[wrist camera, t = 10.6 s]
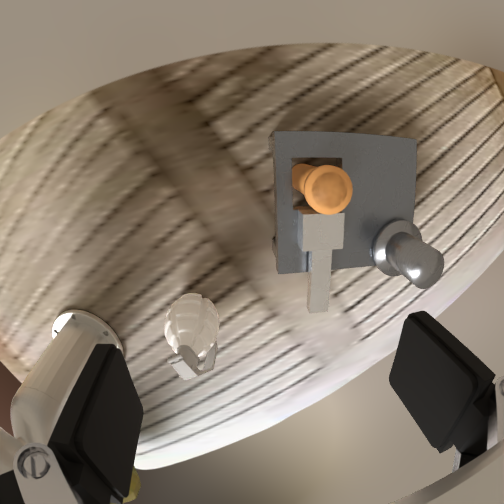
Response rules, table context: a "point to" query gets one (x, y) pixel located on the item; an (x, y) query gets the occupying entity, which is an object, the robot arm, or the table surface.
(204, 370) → the hand grenade
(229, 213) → the table surface
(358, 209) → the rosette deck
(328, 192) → the pin
